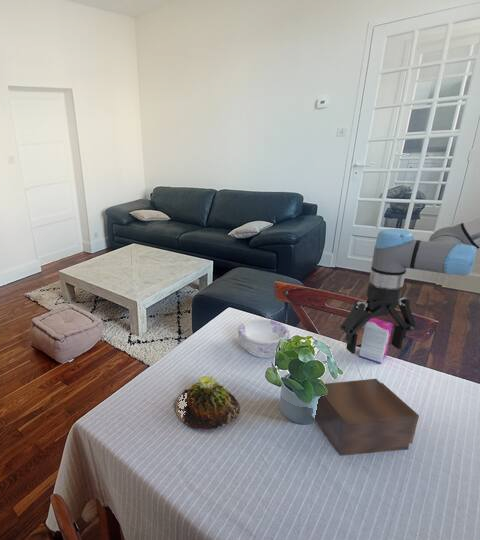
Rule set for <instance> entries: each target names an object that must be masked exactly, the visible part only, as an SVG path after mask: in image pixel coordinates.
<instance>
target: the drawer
mask: <svg viewBox="0 0 480 540" xmlns="http://www.w3.org/2000/svg"><path fill="white" fill-rule="evenodd" d="M380 383H381V384H383V385H384V386H385V387H386V388H387V389H388V390H389V391H390V392H391V393H393V394H394V395H395V396H396V397H397V398H398V399H399V400H400V401H402V402H403V403H404V404H405V405H406V406H407V407H408V408H409V409H411V410H412V411H413V412H414V413H415V414H416V419H415V423H414V427H413V431H412V435H411V439H410V443H409V445H411V444H413V442H414V438H415V433H416V430H417V426H418V421H419V417H420V415H419V414H418V413H417V412H416V411H415V410H413V408H411V407H410V406H409V405H408V404H407V403H406V402H405V401H404V400H403V399H402V398H400V397H399V396H398V395H397V394H395V392H393V391H392V390H391V389H390V388H389V387H388V386H387V385H386V384H384V383H383V382H380Z"/></svg>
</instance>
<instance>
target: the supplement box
mask: <svg viewBox="0 0 480 540" xmlns="http://www.w3.org/2000/svg"><path fill="white" fill-rule="evenodd" d="M393 328H394V322H390V321H386V320H383V319H379V318H376V317H374V318H371V319H370V320H369V321H368V322H367V323H366V324H365V325H364V327H363V334H362V338H361V343H360V347H359V353H358V358H361V359H364V360H367V361H369V362H373V363H375V364H379V365H380V364H381V365H382V363H383V361H384V359H385V357H386V356H387V353H388V348H389V344H390V341H391V335H392V331H393ZM385 355H386V356H385Z"/></svg>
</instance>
